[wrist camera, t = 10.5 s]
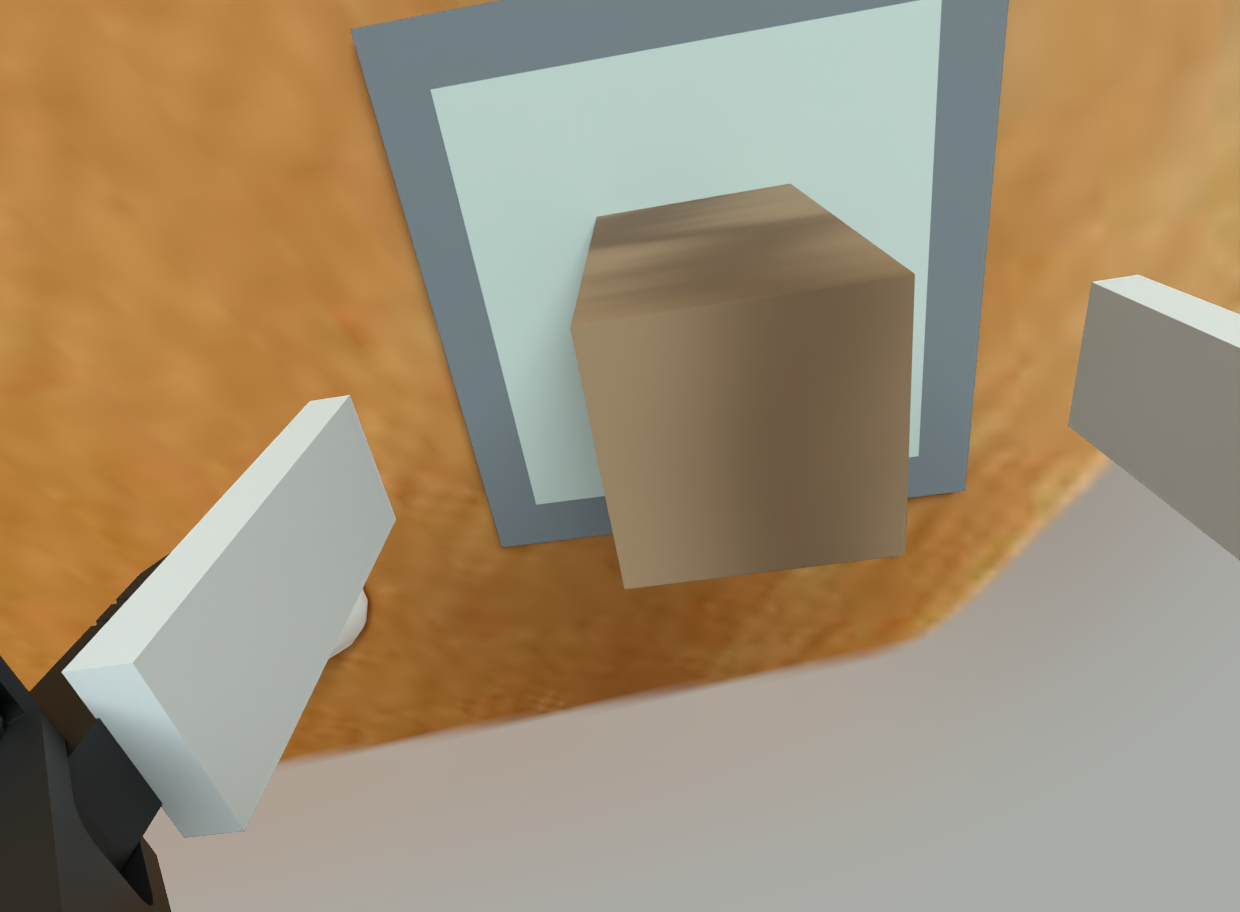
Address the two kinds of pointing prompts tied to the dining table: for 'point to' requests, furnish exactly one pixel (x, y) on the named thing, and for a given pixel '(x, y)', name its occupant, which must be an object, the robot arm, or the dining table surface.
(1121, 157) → the dining table surface
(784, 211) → the block
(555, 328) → the coaster
